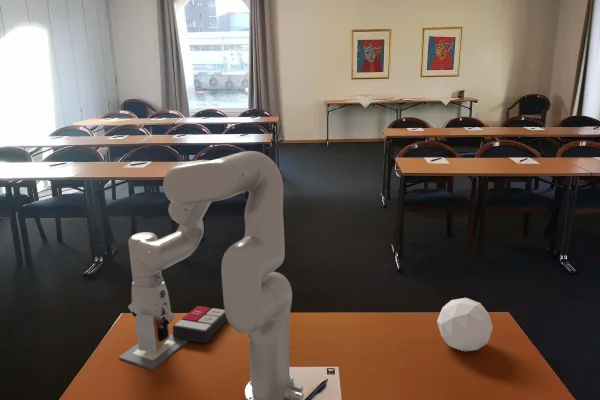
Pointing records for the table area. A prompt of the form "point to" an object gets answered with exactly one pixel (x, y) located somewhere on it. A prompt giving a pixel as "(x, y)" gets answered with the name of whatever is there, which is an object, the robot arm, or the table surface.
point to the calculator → (199, 324)
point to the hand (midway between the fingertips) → (153, 335)
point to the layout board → (153, 353)
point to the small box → (148, 333)
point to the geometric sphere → (465, 324)
